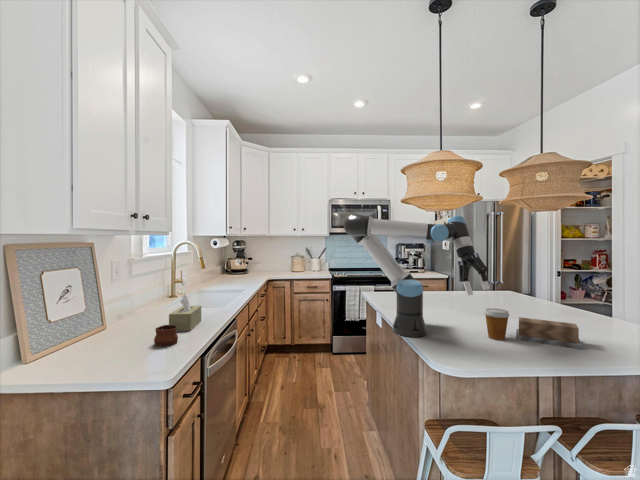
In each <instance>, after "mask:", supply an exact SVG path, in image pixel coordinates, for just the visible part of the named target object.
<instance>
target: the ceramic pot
mask: <svg viewBox="0 0 640 480" xmlns="http://www.w3.org/2000/svg"><path fill="white" fill-rule="evenodd" d="M176 329H177V326H176V325H169V324H163V325H159V326H158V327H155V329H154V330H155V334H156V335H155V336H154V339H153V342H154V345H155V346H156V347H168V346H172V345H175V344H178V340H179V336H178V334H177V331H176Z"/></svg>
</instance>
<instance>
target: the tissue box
mask: <svg viewBox="0 0 640 480" xmlns="http://www.w3.org/2000/svg"><path fill="white" fill-rule="evenodd" d="M179 302H180V304H181V306H180V307H178V308H177V309H175V310H173V311H172V312H170V313H169V314H168V325H176V326H177V329H176V332H183V331H185V332H187V331H192V329H194V328H195V327H196V326H197V325H198V324H199V323H200V322H202V305H191V304H190V301H189V298H188V296H187V295H186V294H185V293H184V294H182V296H181V300H180V301H179Z"/></svg>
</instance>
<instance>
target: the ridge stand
mask: <svg viewBox="0 0 640 480" xmlns="http://www.w3.org/2000/svg"><path fill="white" fill-rule="evenodd" d="M579 332H580V331H579V327H578V324H577V323H570V322H565V321H564V322H562V321H557V320H556V321H554V320H547V319H546V320H545V319H537V318H529V317H522V316H521V317H518V328H516V331H515V340H518V341H524V342H529V343H537V344H544V345H550V346H557V347H564V348H569V349H570V348H571V349H578V350H582V349H583V350H584V344H583V343H582V342H581V340H580V338H579V336H580V334H579Z"/></svg>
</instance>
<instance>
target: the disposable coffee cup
mask: <svg viewBox="0 0 640 480" xmlns="http://www.w3.org/2000/svg"><path fill="white" fill-rule="evenodd" d="M483 313H484V315H485V321H486V329H487V335H488V336H487V337H488V338H489V339H491V340H494V341H504V340H506V335H507V334H506V333H507V329H508V328H507V327H508V321H509V320H508V319H509V317H510V313H509V311H508V310H507V309H504V308H503V309H502V308H496V307H495V308H494V307H493V308H492V307H491V308H490V307H488V308H485V310H484V312H483Z"/></svg>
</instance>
